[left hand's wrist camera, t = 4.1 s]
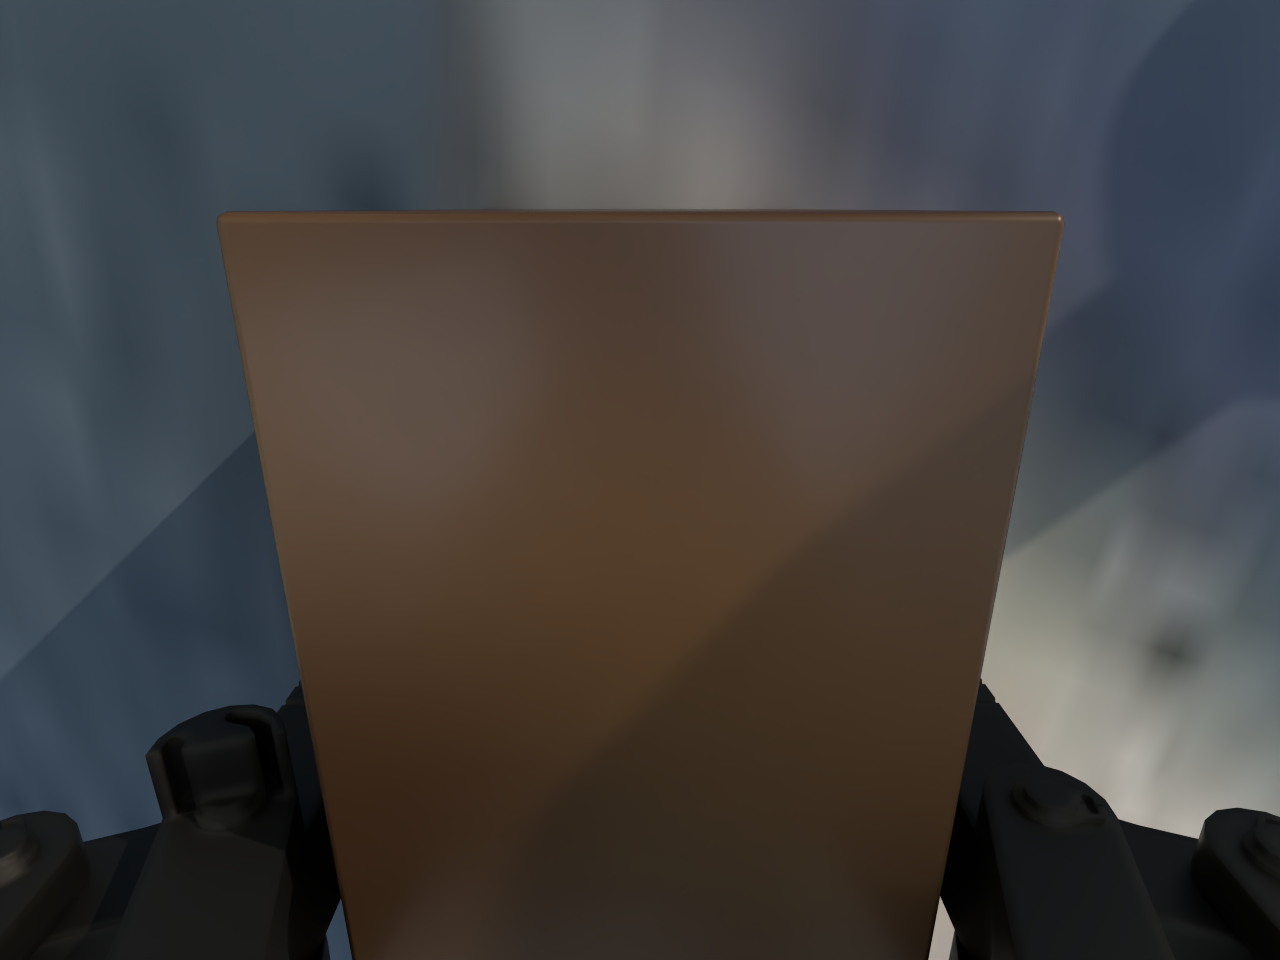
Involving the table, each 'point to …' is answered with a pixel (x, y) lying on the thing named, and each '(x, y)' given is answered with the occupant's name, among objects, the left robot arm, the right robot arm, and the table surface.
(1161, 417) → the table surface
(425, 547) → the post
